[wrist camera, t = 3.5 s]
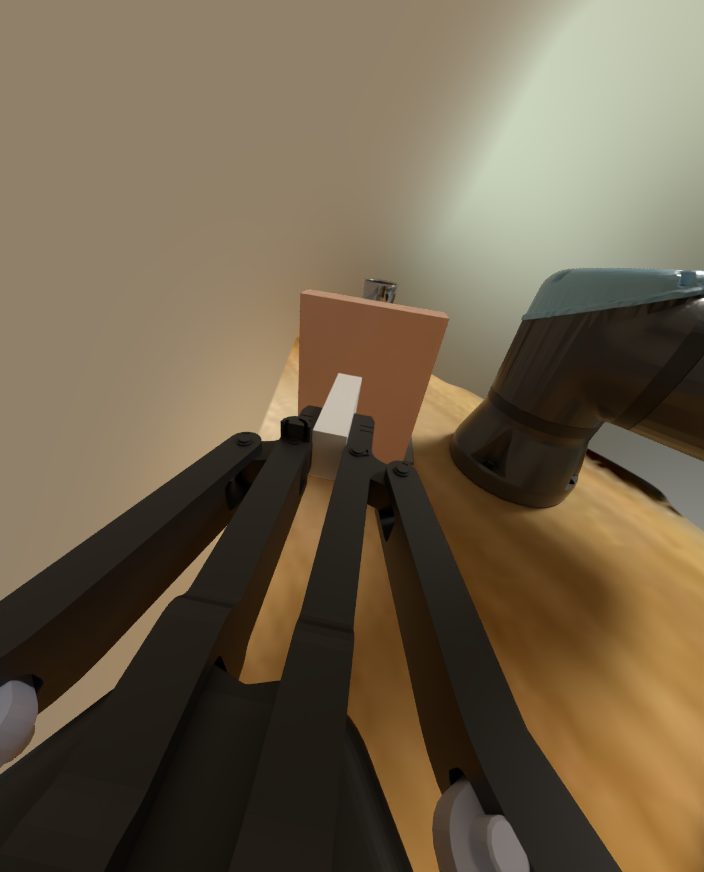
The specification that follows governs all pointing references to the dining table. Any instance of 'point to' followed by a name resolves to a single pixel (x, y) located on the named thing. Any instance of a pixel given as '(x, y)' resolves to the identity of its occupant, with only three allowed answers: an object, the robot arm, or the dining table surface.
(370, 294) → the wine glass
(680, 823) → the dining table surface
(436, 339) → the tile
